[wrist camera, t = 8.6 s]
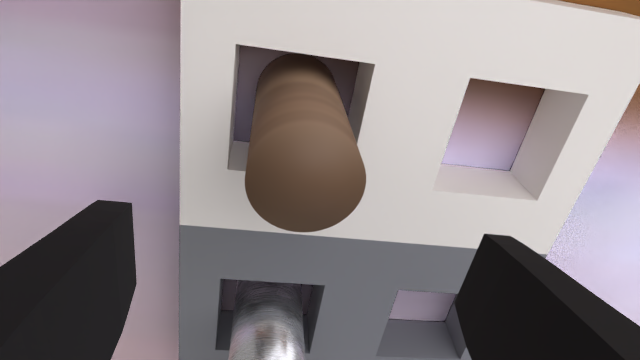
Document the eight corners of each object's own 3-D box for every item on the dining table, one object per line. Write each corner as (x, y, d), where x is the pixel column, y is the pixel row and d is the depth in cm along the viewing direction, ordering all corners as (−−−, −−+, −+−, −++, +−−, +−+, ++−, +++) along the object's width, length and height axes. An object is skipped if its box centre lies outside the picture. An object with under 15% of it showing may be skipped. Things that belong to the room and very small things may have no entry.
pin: (296, 304, 24) (302, 436, 18) (235, 301, 23) (220, 435, 17) (304, 258, 22) (314, 385, 16) (239, 254, 21) (224, 383, 15)
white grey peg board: (457, 354, 27) (473, 392, 25) (187, 343, 24) (178, 384, 22) (621, 12, 17) (670, 24, 15) (195, -65, 14) (181, -62, 12)
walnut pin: (329, 133, 19) (354, 236, 13) (253, 126, 18) (241, 228, 12) (342, 59, 17) (377, 134, 11) (259, 48, 17) (248, 121, 11)
